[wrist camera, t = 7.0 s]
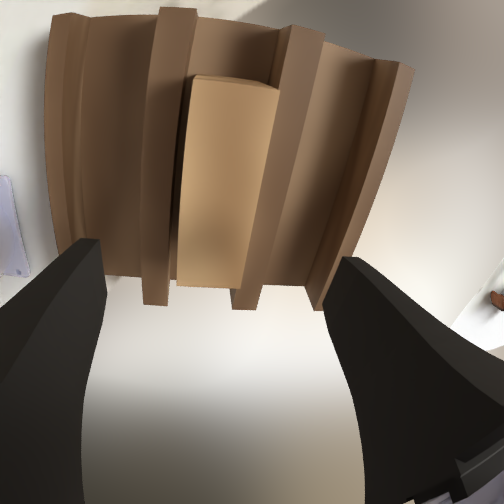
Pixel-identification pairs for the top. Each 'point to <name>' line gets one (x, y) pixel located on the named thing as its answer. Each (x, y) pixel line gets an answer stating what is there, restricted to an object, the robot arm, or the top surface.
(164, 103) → the notched ledge
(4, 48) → the top surface
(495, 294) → the pottery mug
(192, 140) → the tall wooden plank
